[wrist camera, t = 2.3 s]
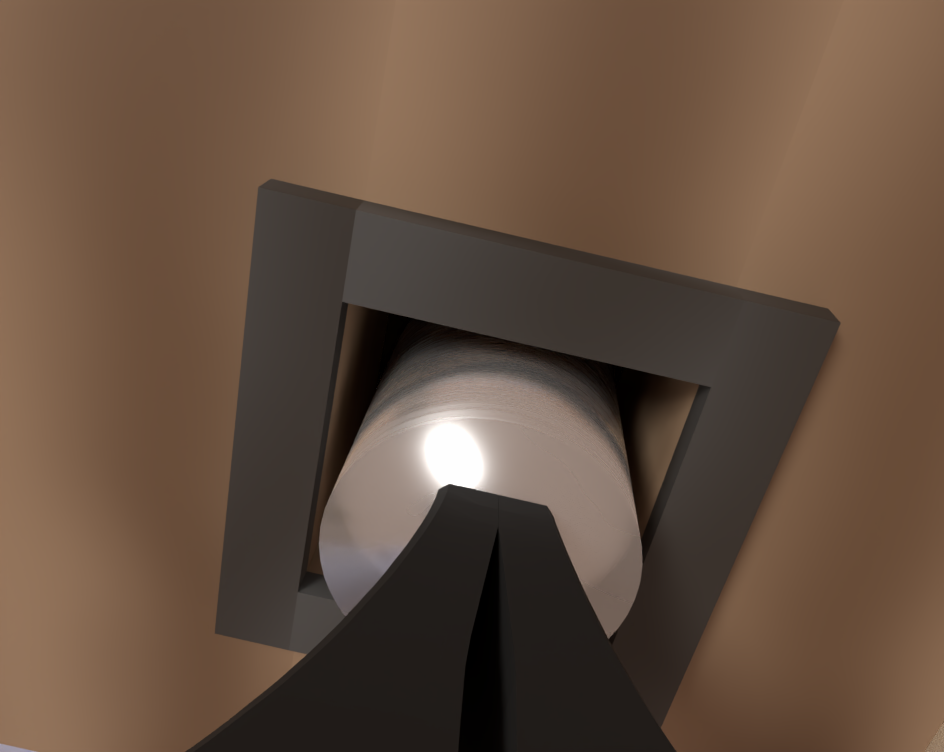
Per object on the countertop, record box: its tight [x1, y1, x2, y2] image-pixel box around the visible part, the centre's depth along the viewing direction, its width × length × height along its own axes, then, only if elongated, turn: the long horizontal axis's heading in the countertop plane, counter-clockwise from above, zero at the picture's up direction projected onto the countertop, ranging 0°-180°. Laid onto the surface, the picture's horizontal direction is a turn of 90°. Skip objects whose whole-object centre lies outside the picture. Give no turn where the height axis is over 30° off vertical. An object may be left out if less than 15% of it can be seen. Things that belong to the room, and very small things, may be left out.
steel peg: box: [319, 318, 643, 639], centre depth 12 cm, size 4×4×5 cm
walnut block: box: [0, 0, 944, 752], centre depth 14 cm, size 16×16×6 cm
